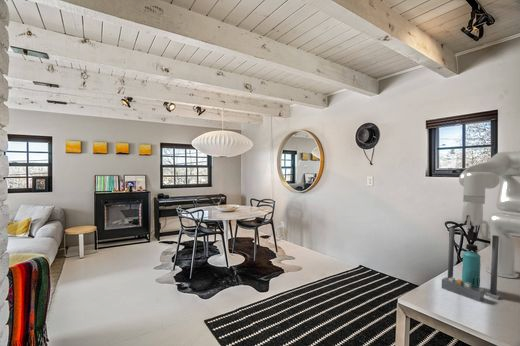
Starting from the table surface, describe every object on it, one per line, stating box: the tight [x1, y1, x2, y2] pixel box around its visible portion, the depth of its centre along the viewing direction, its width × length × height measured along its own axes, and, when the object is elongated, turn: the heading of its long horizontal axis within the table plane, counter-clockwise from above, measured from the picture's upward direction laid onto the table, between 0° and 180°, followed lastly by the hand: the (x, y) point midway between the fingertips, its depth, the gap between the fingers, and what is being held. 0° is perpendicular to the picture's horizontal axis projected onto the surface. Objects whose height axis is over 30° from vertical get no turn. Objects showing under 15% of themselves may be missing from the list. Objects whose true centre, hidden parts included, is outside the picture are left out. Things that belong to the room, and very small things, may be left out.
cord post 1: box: [446, 227, 457, 281], centre depth 124 cm, size 4×4×26 cm
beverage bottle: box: [461, 243, 482, 288], centre depth 117 cm, size 6×7×20 cm
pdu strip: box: [441, 276, 485, 303], centre depth 113 cm, size 4×14×5 cm, turn 32°
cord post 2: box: [484, 235, 502, 300], centre depth 111 cm, size 4×4×26 cm
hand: (472, 240), depth 117 cm, fingers closed
